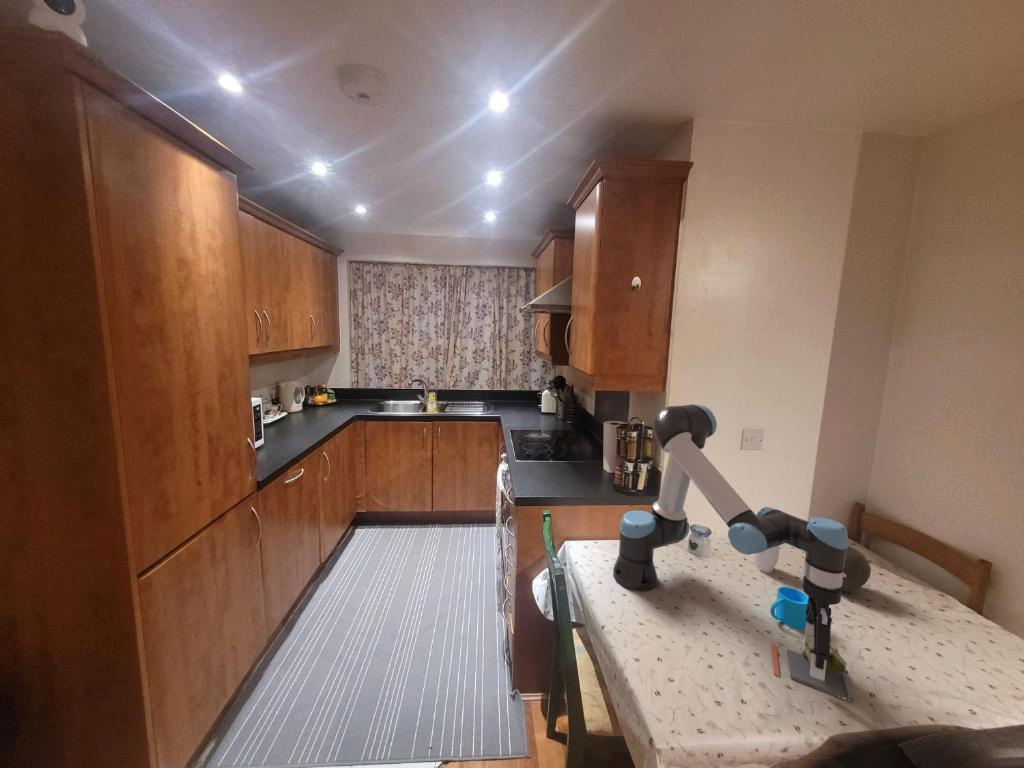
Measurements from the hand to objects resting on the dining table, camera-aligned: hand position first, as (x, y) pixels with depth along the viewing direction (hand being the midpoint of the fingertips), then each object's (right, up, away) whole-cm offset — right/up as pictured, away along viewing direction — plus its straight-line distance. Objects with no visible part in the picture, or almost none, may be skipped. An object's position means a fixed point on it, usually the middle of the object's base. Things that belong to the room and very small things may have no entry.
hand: (813, 661), depth 97 cm
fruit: (+2, -1, -1) cm, 2 cm away
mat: (+1, -3, 0) cm, 3 cm away
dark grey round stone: (+39, -1, +36) cm, 53 cm away
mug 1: (+18, +1, +48) cm, 51 cm away
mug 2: (+7, -2, +19) cm, 21 cm away
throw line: (-7, -3, +4) cm, 9 cm away
